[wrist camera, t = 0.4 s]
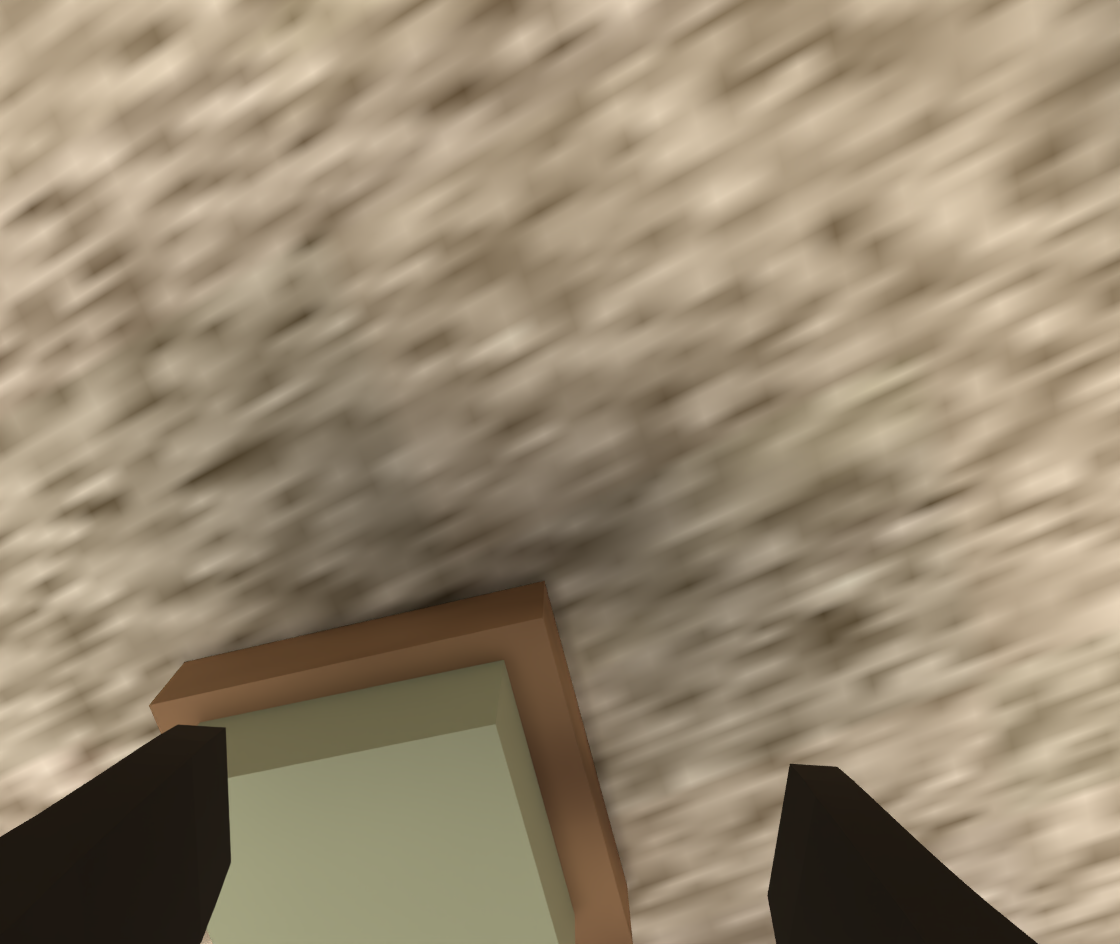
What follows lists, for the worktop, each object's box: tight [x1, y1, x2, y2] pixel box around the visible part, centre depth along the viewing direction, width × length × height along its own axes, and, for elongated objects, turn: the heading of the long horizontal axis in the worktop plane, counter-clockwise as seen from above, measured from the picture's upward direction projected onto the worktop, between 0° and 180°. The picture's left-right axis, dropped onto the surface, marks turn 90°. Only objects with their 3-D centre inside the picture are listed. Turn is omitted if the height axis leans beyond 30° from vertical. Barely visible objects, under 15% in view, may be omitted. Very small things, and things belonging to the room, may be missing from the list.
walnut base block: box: [149, 581, 633, 944], centre depth 22 cm, size 9×9×2 cm
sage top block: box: [197, 660, 575, 944], centre depth 19 cm, size 7×7×2 cm
